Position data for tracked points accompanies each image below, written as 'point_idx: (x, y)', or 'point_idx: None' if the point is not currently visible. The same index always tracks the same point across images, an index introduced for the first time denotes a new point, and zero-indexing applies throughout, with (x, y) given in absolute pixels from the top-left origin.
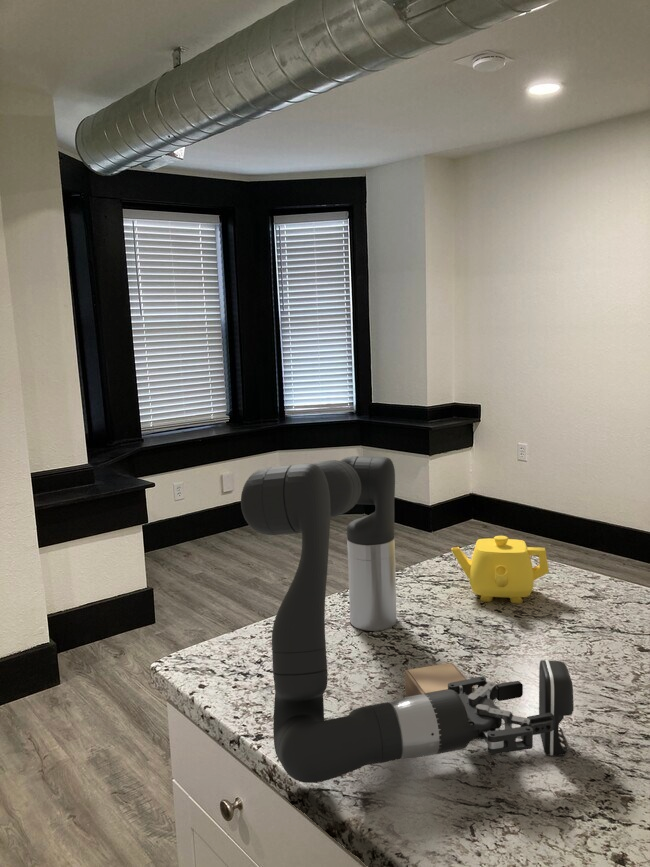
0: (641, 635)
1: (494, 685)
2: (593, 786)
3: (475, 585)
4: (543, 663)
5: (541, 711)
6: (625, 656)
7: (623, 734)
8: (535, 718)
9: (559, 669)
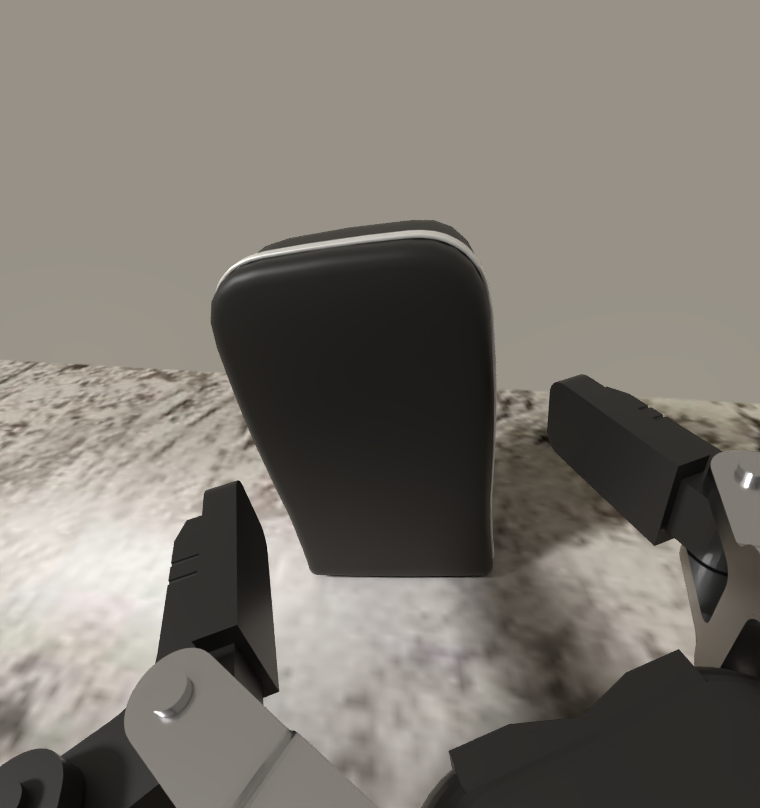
0: (40, 363)
1: (210, 664)
2: None
3: None
4: (276, 262)
5: (367, 490)
6: (84, 382)
7: None
8: (671, 430)
9: (360, 229)
